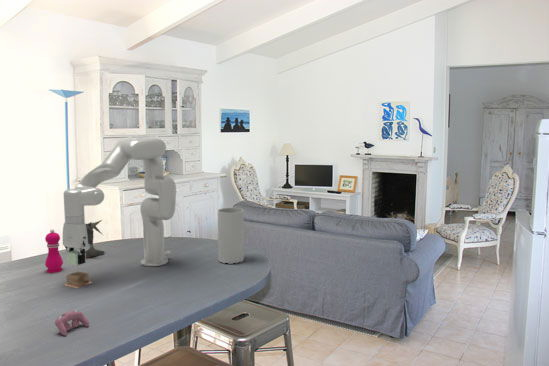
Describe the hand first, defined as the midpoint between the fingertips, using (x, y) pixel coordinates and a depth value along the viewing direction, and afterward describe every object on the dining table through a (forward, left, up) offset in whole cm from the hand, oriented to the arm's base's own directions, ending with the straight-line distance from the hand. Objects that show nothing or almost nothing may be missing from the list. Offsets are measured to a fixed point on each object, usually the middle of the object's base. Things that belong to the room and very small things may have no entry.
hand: (76, 262), depth 207 cm
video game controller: (+30, +32, -11) cm, 45 cm away
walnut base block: (0, 0, -9) cm, 9 cm away
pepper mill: (-7, -23, -10) cm, 26 cm away
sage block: (0, 0, 0) cm, 0 cm away
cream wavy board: (-4, -3, -10) cm, 11 cm away
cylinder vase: (-61, +36, -10) cm, 72 cm away
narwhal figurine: (-32, -29, -10) cm, 45 cm away
